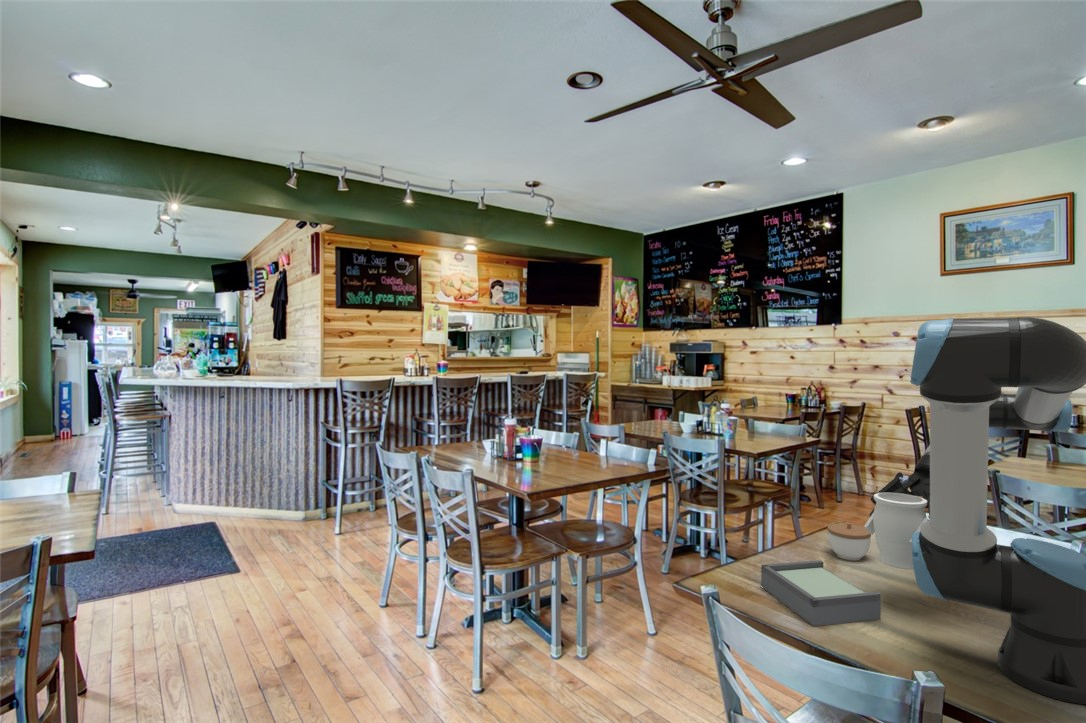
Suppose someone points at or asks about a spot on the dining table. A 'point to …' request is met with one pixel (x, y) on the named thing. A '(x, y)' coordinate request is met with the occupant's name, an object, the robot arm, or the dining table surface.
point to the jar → (897, 527)
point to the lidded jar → (849, 540)
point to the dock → (819, 593)
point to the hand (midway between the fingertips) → (890, 537)
